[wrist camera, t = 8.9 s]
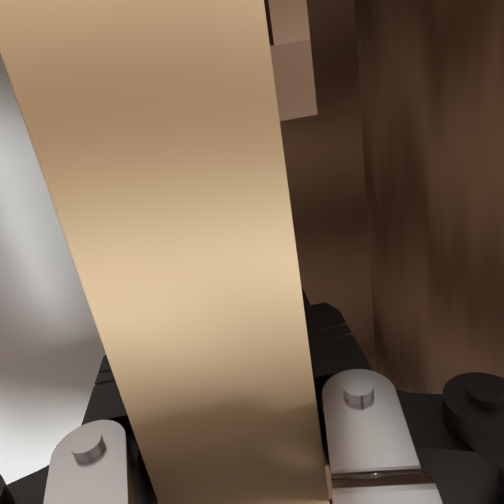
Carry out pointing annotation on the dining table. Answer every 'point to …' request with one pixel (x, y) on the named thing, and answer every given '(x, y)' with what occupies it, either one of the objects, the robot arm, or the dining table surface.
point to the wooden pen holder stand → (398, 176)
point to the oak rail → (179, 232)
